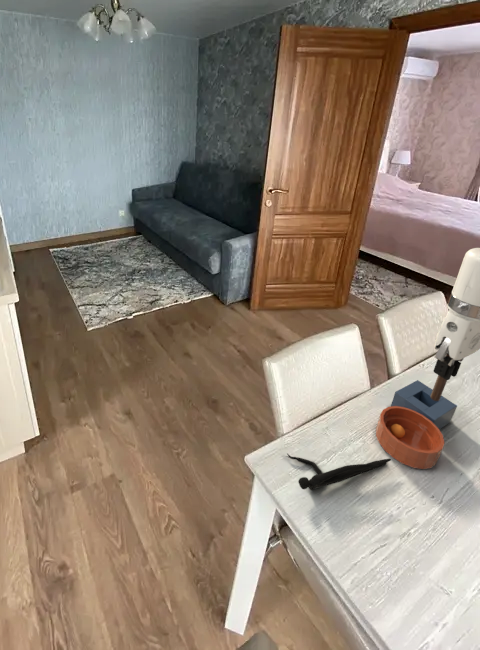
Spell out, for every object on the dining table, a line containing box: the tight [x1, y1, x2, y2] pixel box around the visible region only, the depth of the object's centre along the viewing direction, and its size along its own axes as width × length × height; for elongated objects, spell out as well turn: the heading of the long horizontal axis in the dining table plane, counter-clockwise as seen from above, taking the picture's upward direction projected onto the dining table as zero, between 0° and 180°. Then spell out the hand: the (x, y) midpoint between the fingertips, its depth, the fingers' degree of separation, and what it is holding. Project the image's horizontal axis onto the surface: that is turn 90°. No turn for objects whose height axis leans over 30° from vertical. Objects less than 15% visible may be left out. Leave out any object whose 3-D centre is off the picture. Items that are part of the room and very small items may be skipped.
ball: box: [390, 424, 405, 438], centre depth 89 cm, size 3×3×3 cm
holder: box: [390, 379, 458, 430], centre depth 95 cm, size 10×10×6 cm
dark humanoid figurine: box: [285, 453, 392, 491], centre depth 82 cm, size 8×9×25 cm
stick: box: [430, 354, 451, 401], centre depth 80 cm, size 2×2×13 cm
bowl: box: [375, 405, 445, 470], centre depth 87 cm, size 13×13×6 cm
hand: (444, 373), depth 79 cm, fingers closed on stick, 1 cm apart
